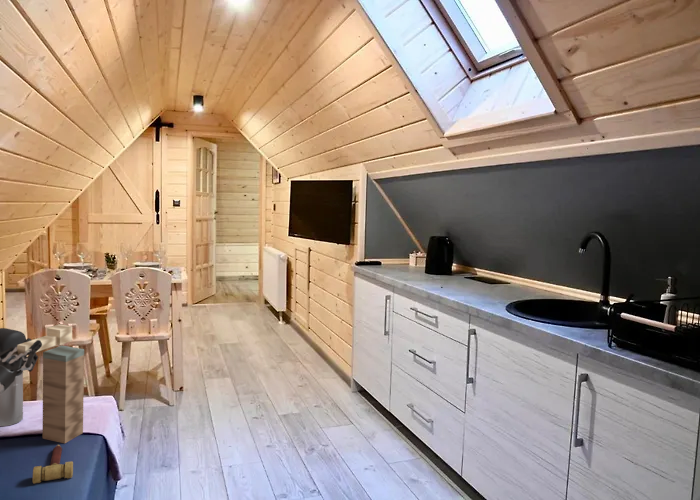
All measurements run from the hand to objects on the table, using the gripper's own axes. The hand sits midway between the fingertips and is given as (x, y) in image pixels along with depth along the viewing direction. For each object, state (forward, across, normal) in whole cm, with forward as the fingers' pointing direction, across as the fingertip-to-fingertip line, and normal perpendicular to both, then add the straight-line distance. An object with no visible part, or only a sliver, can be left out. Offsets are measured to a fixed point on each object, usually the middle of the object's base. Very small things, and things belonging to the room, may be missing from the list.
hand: (35, 341), depth 158 cm
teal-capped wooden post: (-8, 0, -38) cm, 39 cm away
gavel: (-21, +11, -31) cm, 39 cm away
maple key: (+2, 0, -4) cm, 5 cm away
